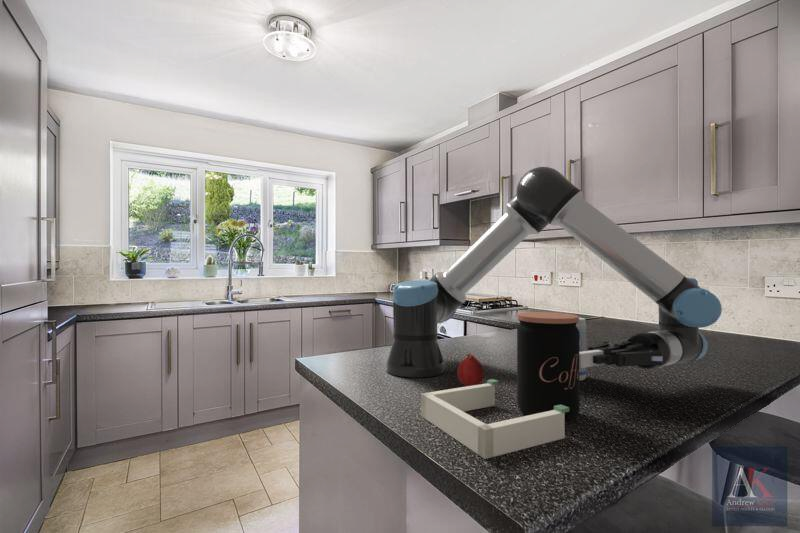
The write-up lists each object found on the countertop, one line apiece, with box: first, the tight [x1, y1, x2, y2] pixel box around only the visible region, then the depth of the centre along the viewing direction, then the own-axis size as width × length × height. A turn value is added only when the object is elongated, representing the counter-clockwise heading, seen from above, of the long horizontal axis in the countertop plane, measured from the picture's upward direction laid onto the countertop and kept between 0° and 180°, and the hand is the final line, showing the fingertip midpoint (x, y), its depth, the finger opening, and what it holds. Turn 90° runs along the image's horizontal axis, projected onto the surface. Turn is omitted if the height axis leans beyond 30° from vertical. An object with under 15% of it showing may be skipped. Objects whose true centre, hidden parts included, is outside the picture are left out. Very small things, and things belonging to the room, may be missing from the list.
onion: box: [456, 352, 485, 387], centre depth 86 cm, size 6×6×8 cm
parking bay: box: [420, 378, 569, 460], centre depth 66 cm, size 18×16×5 cm
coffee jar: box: [516, 311, 581, 424], centre depth 72 cm, size 11×11×18 cm
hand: (577, 360), depth 75 cm, fingers closed
